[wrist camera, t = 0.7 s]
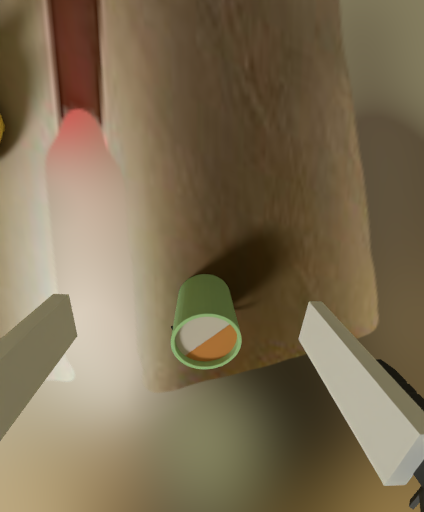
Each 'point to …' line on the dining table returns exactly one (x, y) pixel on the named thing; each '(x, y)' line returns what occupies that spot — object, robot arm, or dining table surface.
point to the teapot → (1, 128)
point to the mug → (205, 324)
